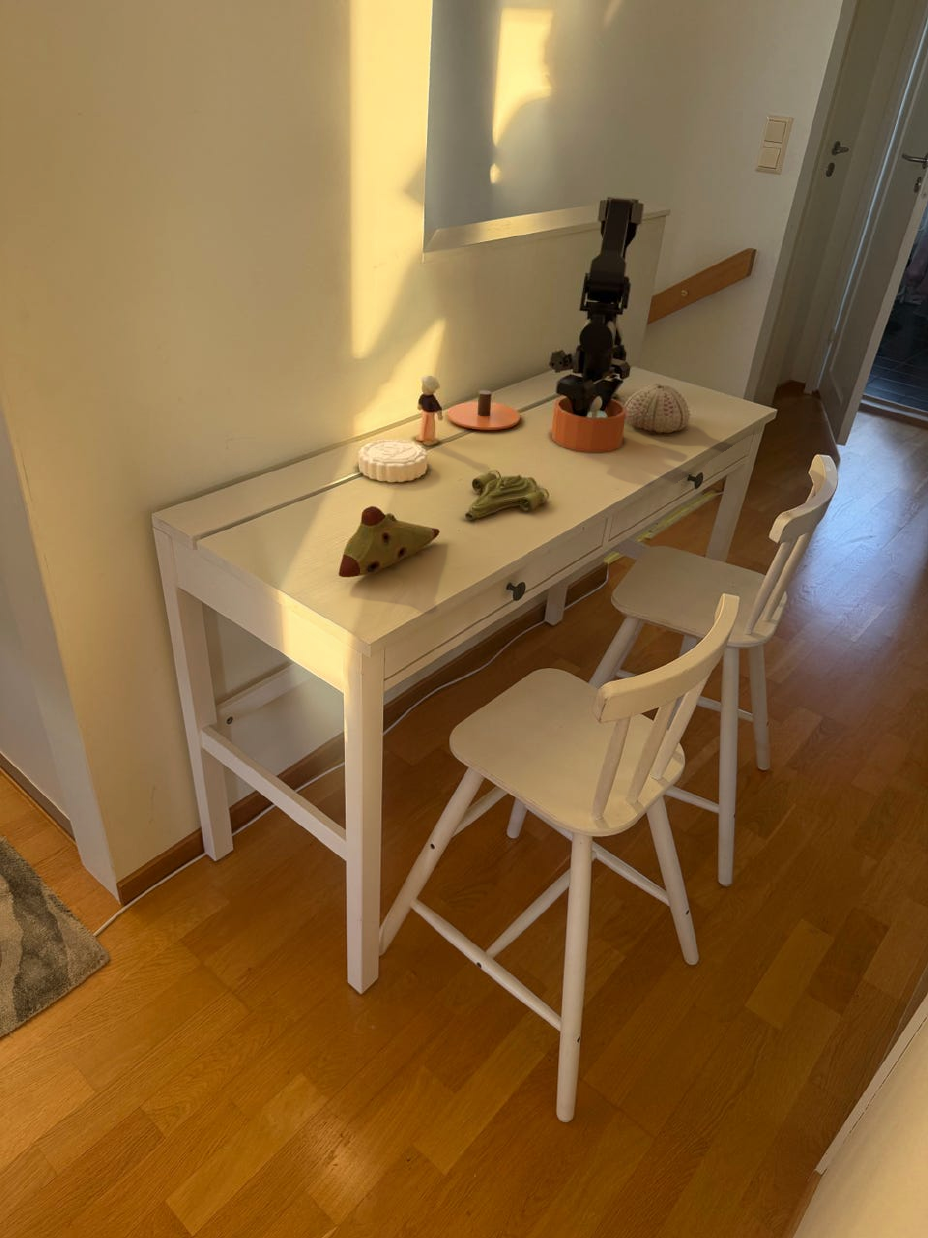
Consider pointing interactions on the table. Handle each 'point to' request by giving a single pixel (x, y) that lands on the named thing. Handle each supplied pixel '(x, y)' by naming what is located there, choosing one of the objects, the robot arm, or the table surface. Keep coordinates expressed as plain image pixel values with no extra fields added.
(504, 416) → the lid
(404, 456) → the mooncake
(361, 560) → the ocarina
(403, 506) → the table surface
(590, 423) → the pot
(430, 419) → the grandmother figurine
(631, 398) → the sea urchin shell
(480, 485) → the spaceship toy
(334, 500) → the table surface
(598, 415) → the pacifier
